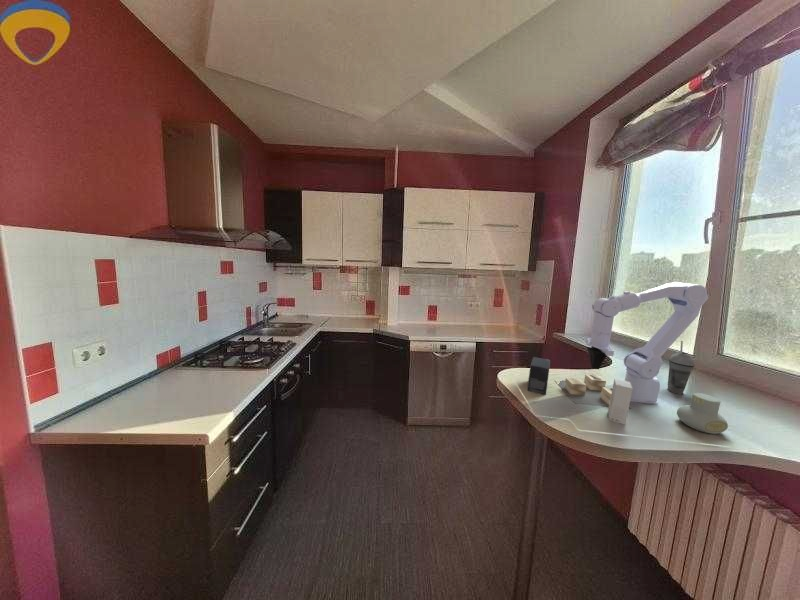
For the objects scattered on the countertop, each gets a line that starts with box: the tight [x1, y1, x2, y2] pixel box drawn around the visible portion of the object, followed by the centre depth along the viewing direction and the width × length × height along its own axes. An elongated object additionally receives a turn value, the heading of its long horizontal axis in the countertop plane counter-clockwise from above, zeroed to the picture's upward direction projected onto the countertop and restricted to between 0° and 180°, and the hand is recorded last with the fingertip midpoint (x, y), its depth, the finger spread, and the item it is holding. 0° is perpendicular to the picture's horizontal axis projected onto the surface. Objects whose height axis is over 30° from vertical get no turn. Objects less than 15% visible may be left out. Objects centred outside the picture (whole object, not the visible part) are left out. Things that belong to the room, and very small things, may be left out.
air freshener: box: [676, 392, 729, 435], centre depth 90 cm, size 11×8×10 cm
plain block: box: [564, 377, 587, 395], centre depth 109 cm, size 5×5×4 cm
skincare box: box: [607, 378, 633, 425], centre depth 92 cm, size 6×4×12 cm
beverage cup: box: [667, 340, 695, 395], centre depth 114 cm, size 7×7×20 cm
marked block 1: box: [583, 373, 607, 391], centre depth 114 cm, size 5×5×4 cm
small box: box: [527, 356, 551, 396], centre depth 111 cm, size 11×6×10 cm, turn 152°
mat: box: [558, 379, 632, 410], centre depth 109 cm, size 18×19×1 cm
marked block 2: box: [600, 386, 613, 405], centre depth 103 cm, size 5×5×4 cm
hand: (595, 368), depth 108 cm, fingers closed
